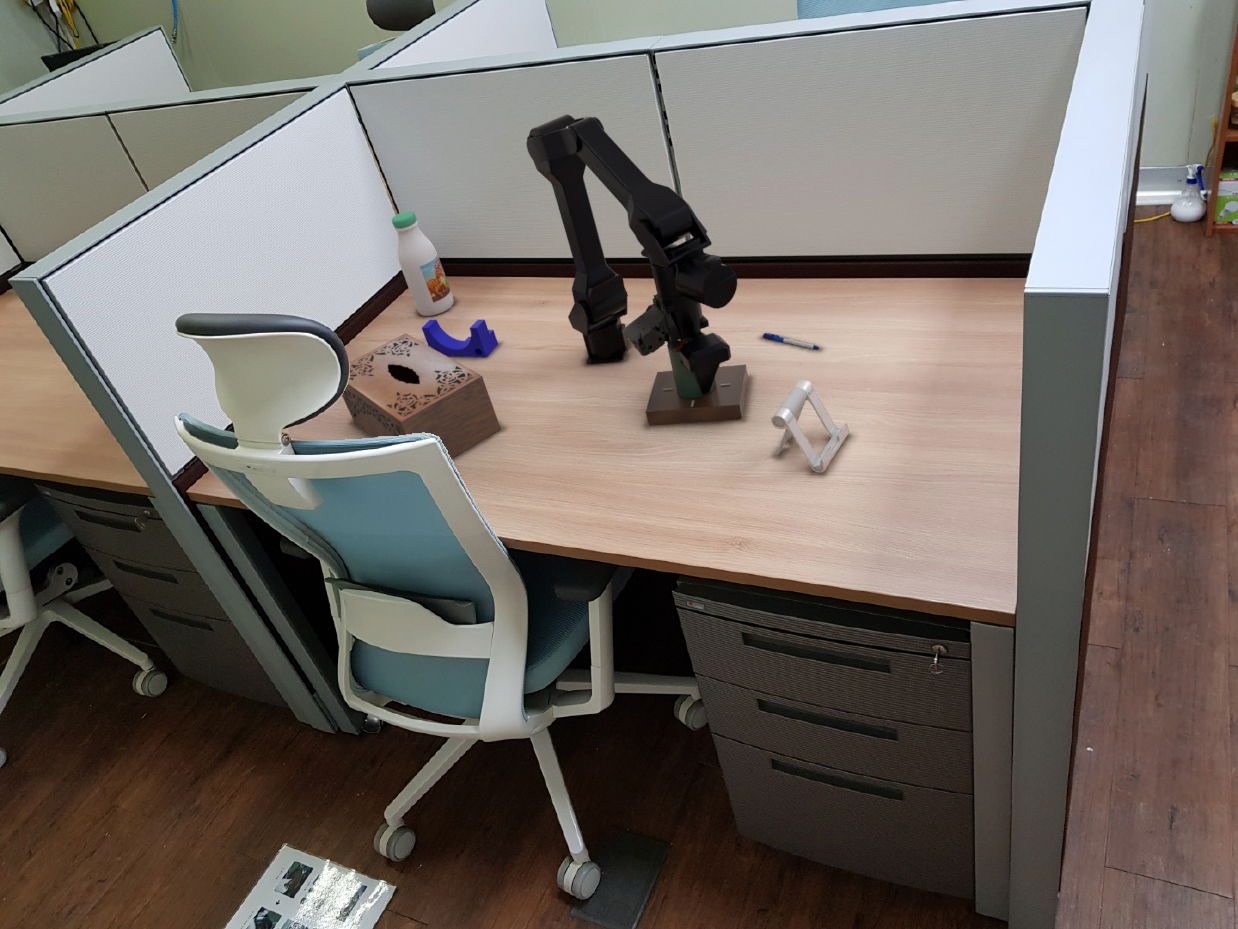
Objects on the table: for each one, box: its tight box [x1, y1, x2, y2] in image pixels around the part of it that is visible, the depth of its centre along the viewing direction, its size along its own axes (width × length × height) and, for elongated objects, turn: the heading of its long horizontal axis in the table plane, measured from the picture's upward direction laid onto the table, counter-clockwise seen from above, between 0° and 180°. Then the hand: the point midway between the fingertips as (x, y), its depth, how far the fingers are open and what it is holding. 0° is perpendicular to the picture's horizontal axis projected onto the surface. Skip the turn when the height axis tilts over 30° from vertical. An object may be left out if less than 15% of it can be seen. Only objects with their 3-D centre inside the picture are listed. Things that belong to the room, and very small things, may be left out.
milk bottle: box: [391, 210, 455, 317], centre depth 184 cm, size 8×8×20 cm
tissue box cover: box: [341, 332, 502, 459], centre depth 150 cm, size 26×14×10 cm, turn 39°
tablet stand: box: [770, 379, 850, 474], centre depth 123 cm, size 9×8×8 cm
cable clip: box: [421, 319, 499, 358], centre depth 170 cm, size 12×4×6 cm, turn 68°
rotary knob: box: [666, 331, 716, 398], centre depth 137 cm, size 6×6×8 cm
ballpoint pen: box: [762, 332, 820, 350], centre depth 148 cm, size 10×1×1 cm, turn 49°
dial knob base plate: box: [645, 364, 749, 426], centre depth 140 cm, size 14×11×3 cm
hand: (695, 381), depth 139 cm, fingers open, 7 cm apart
